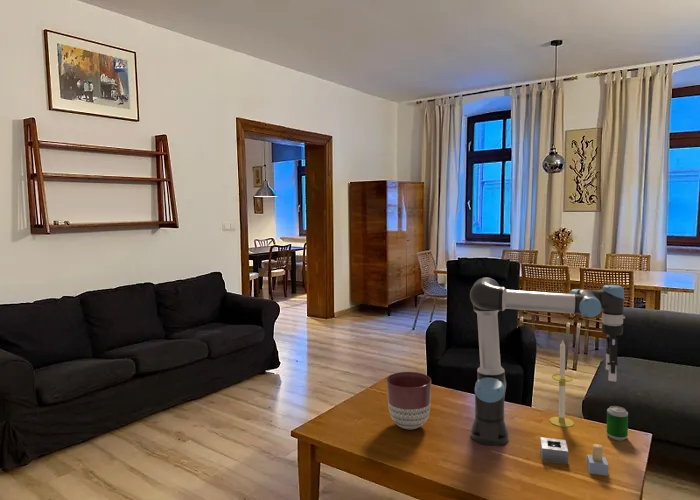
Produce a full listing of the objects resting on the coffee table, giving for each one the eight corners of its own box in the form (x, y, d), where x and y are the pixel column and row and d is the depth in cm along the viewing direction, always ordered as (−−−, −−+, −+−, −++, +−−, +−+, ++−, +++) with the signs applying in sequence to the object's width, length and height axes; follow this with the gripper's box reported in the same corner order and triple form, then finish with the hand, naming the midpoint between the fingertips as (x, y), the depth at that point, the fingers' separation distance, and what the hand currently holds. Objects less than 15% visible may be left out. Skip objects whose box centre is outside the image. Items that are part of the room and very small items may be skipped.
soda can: (630, 442, 194) (631, 413, 193) (609, 440, 195) (610, 412, 194) (623, 433, 201) (624, 405, 200) (604, 432, 203) (604, 404, 201)
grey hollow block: (542, 460, 181) (542, 448, 181) (540, 449, 190) (540, 437, 190) (568, 464, 179) (568, 451, 178) (565, 452, 187) (565, 440, 187)
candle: (564, 416, 219) (565, 335, 215) (579, 425, 209) (580, 341, 206) (544, 418, 217) (545, 337, 213) (558, 428, 207) (559, 343, 203)
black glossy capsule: (549, 458, 183) (550, 446, 183) (549, 454, 186) (549, 442, 186) (558, 459, 182) (558, 447, 182) (557, 455, 185) (557, 443, 185)
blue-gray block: (589, 473, 172) (589, 449, 172) (586, 464, 178) (587, 441, 177) (608, 475, 171) (608, 451, 170) (604, 466, 176) (605, 443, 175)
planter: (381, 432, 207) (380, 384, 205) (394, 414, 225) (393, 369, 223) (426, 440, 200) (425, 390, 198) (436, 420, 218) (435, 374, 216)
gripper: (626, 332, 180) (624, 387, 182) (619, 317, 203) (618, 366, 205) (604, 330, 183) (602, 384, 185) (599, 316, 206) (598, 364, 208)
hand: (610, 375), depth 195 cm, fingers open, 13 cm apart
